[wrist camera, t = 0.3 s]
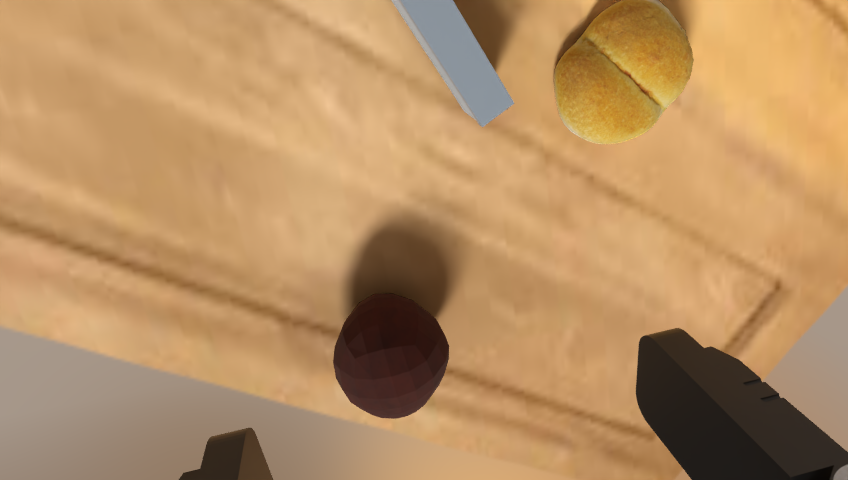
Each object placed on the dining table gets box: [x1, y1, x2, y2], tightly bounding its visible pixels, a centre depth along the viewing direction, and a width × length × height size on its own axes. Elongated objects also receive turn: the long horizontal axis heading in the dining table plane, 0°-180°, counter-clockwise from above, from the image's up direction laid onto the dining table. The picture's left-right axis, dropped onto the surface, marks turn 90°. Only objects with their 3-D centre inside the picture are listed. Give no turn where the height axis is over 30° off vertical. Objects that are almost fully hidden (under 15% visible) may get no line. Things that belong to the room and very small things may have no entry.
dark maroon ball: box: [333, 293, 449, 418], centre depth 36 cm, size 8×9×8 cm
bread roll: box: [554, 0, 693, 144], centre depth 33 cm, size 8×9×4 cm
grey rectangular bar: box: [392, 0, 514, 127], centre depth 28 cm, size 14×2×4 cm, turn 35°
